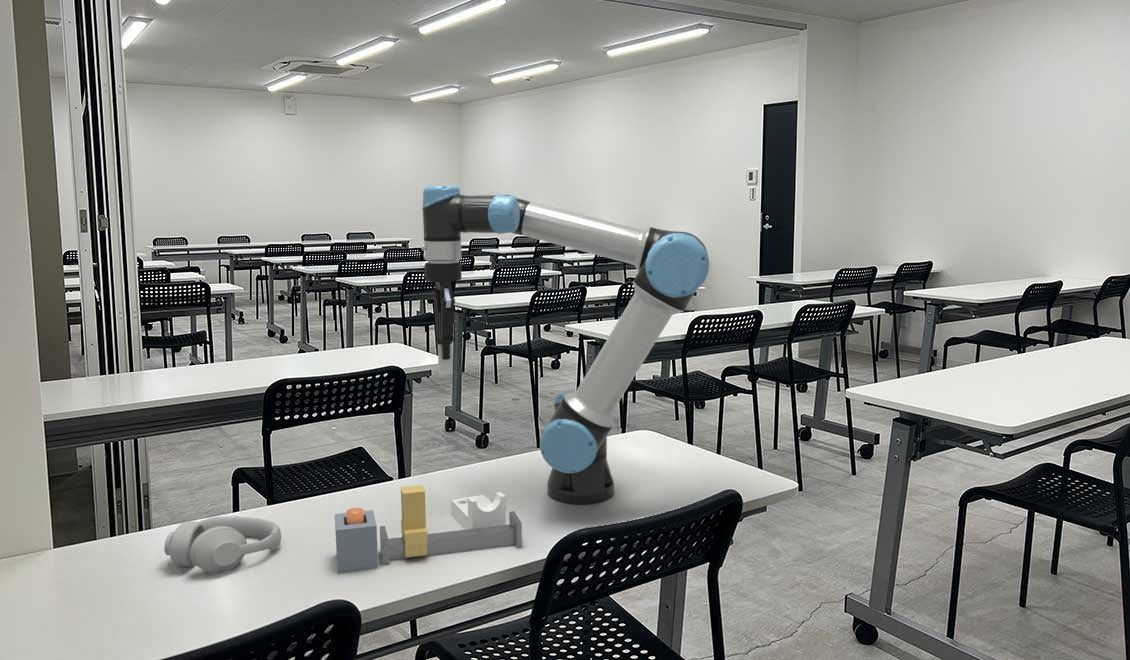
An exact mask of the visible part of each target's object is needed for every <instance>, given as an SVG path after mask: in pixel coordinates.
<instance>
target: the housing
mask: <svg viewBox="0 0 1130 660" xmlns="http://www.w3.org/2000/svg"><path fill="white" fill-rule="evenodd" d="M363 514H364V523H360V524H351V525H347V514H346V512H342V513H340V512H339V513H335V514H334V524H335V525H334V527H335V543H336V544H335V545H336V546H335V547H336V548H335V549H336V562H337V563H336V565H337V572H338V574H340V573H341V574H342V573H346V572H355V571H356V572H357V571H363V570H372V569H379V556H378V555H379V553H378V527H377V525H378V524H377V521H376V518H375V517H376V516H375V511H374V509H370V510H369V509H368V510H363Z"/></svg>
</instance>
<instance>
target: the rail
mask: <svg viewBox="0 0 1130 660" xmlns="http://www.w3.org/2000/svg"><path fill="white" fill-rule="evenodd" d="M508 512H509V513H508V514H509V515H508V516H509V520H508V521H509V523H508V524H506V525H500V526H492V527H483V528H475V529H459V530H451V531H443V532H433V533H427V542H428V543H427V555H421V556H413V557H405V542H404V539H403V537H402V536H401V537H392V538H388V533H387V528H386V526H385V525H382V526H381V525H380V526H379V544H380V545H379V546H380V554H381V560H382V564H383V565H382V566H385V565H389V564H390V561H397V560H405V559H406V560H407V559H411V558H422V557H427V556H436V555H438V556H439V555H444V554H454V553H459V552H468V551H476V550H477V551H478V550H484V549H493V548H502V547H508V546H515V548H516V549H519V548H522V547H523V543H522V542H523V532H522V531H523V529H522V525H523V523H522V521H521V519H520V518H519V516H518V515H517V513H516V512H515V511H514V510H513V511H512V510H511V511H508Z"/></svg>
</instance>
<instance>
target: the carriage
mask: <svg viewBox="0 0 1130 660" xmlns="http://www.w3.org/2000/svg"><path fill="white" fill-rule="evenodd" d="M400 501H401V503H400V504H401V509H400V510H401V519H400V527H401V528H400V529H401V530H400V531H401V537H403V539H404V542H405V557H413V556H421V555H427V543H428V542H427V534H428V529H427V524H426V523H427V520H426V519H427V517H426V515H427V513H426V491H425V488H424V486H423V484H419V485H409V486H401V487H400Z"/></svg>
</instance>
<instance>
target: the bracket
mask: <svg viewBox="0 0 1130 660" xmlns="http://www.w3.org/2000/svg"><path fill="white" fill-rule="evenodd" d="M506 500H507V499H506V495H505V494H504V493H503V492H501V491H499V492H496V495H495V498H494V500H493V502H492V501H491V500H490V499H488V498H487V496H485V495H484V494H479V495H471V496H467V497H461V498H453V499H451V500H450V501H451V502H450V503H451V504H450V505H451V516H452V517H453V518H454V519H455V520H456V521H457V522H458V524H460V525H461V526H462V528H464V530H466V529H475V528H483V527H492V526H500V525H507V508H506V507H507V505H506V503H507V501H506Z"/></svg>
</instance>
